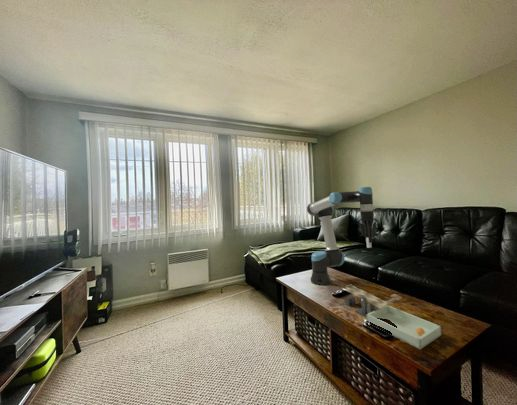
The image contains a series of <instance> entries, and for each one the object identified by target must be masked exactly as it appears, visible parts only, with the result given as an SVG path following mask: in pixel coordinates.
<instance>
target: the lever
mask: <svg viewBox="0 0 517 405" xmlns="http://www.w3.org/2000/svg"><path fill="white" fill-rule="evenodd" d="M345 291H346V292H348V293H350V294H352V295H354V296H355V297H357V298H360V299H361V297H365V298H366V303H369V304H370V303H371V304H373V305H375V307H376V308H377V309H379V308H380V309H382V308H384V307H386V306H387V305H389V304H392V303H394V302H396V301H400V300H401V299H403V297H402V296H400V295H398V294H396V293H394V294H391V295H390V298H389V299H388V300H383V299H381V298H379V297H377V296H373V295H371V294H372V293H368V292H367V291H365V290H364V289H361V288H360V287H359V288H358V287H356V286H355V285H353V284H347V285H345Z"/></svg>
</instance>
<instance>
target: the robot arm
mask: <svg viewBox="0 0 517 405" xmlns="http://www.w3.org/2000/svg"><path fill="white" fill-rule="evenodd" d="M373 197H374V196H373V188H372V187H371V186H362V187H361V186H360V187H359V188H358V190H355V191H353V190H352V191H334V192H331V193H330V194H329V196H326V197H324V198H322V199H319V200H318V201H317V200H316V201H312V202H310V203H308V205H307V207H306V211H307V213H308V214H309V216H312V217H318V219H319V220H320V223H321V228H322V233H323V238H324V244H325V249H324V250H319V251H318V250H317V251H314V252H313V253H312V254H311V268H312V270H311V271H312V272H311V276H310V283H312V282H313V283H315V284H314V285H317V284H320V285H319V286H326V284H327V285H329V283H330V284H331V277H330V275H329V272H328V268H333V267H340V266H342V265H343V264H344V263H345V254H344V253H343V251H342V250H340V248H339V247H338V245H337V240H336V235H335V232H334V231H335V230H334V226H333V222H332V221H333V220H332V218H333V214H334V213H335V208H334V206H337V205H339V204H345V203H350V204H351V203H359V209H360V220H359V221H357V224H358V226H359V229H360V234H361V236H363V237H364V239H365V241H364V242H365V243H366V248H367V249H370V248H373V246H372V243H373V238H375V237H376V233H377V226H378V224H379V222H378V221H376V220H375V218H374V217H375V215H374V214H375V213H374V200H373V199H374V198H373ZM313 283H312V284H313Z"/></svg>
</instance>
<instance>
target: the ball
mask: <svg viewBox="0 0 517 405" xmlns="http://www.w3.org/2000/svg"><path fill="white" fill-rule="evenodd" d="M416 332H417V334H418V335H420V336H422V335H423V334H425V331H424V330H423V329H422V328H417V329H416Z"/></svg>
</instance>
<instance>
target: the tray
mask: <svg viewBox="0 0 517 405" xmlns="http://www.w3.org/2000/svg"><path fill="white" fill-rule="evenodd" d="M377 318H385V319H388V320H390V321H391V322H392V323H394V324H395V325H396V326H397V328H396V327H394V326H392V325H390V324H388V323H386V322H384V321H382V320H380V319H377ZM365 319H366V322H367V321H369V322H371V323H373V324H375V325H377V326H380V327H382V328H384V329H386V330H388V331H390V332H391V333H392V335H391V336H393V337H394V338H397V339H399V340H401V341H402V342H405V343H406V344H408V345H411V346H412V347H414V348H416V349H418V350H422V349H424V348H425V347H427V346H428V345H429V344H430V343H432V342H434V341H435V340H436V339H438V338H439V337H441V336H442V327H441V325H439V324H436V323H434V322H431V321H429V320H426V319H423V318H421V317H419V316H416V315H413V314H412V313H409V312H406V311H404V310H401V309H398V308H396V307H394V306H391V305H389V304H387V306H386V307H384V308H382V309H380V308H377V309H376V310H375V311H373V312H370V313H368V314H366V317H365ZM417 328H422V329H423V330H424V331H425V334H423V335H422V336H420V335H418V334H417V332H416V329H417Z"/></svg>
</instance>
